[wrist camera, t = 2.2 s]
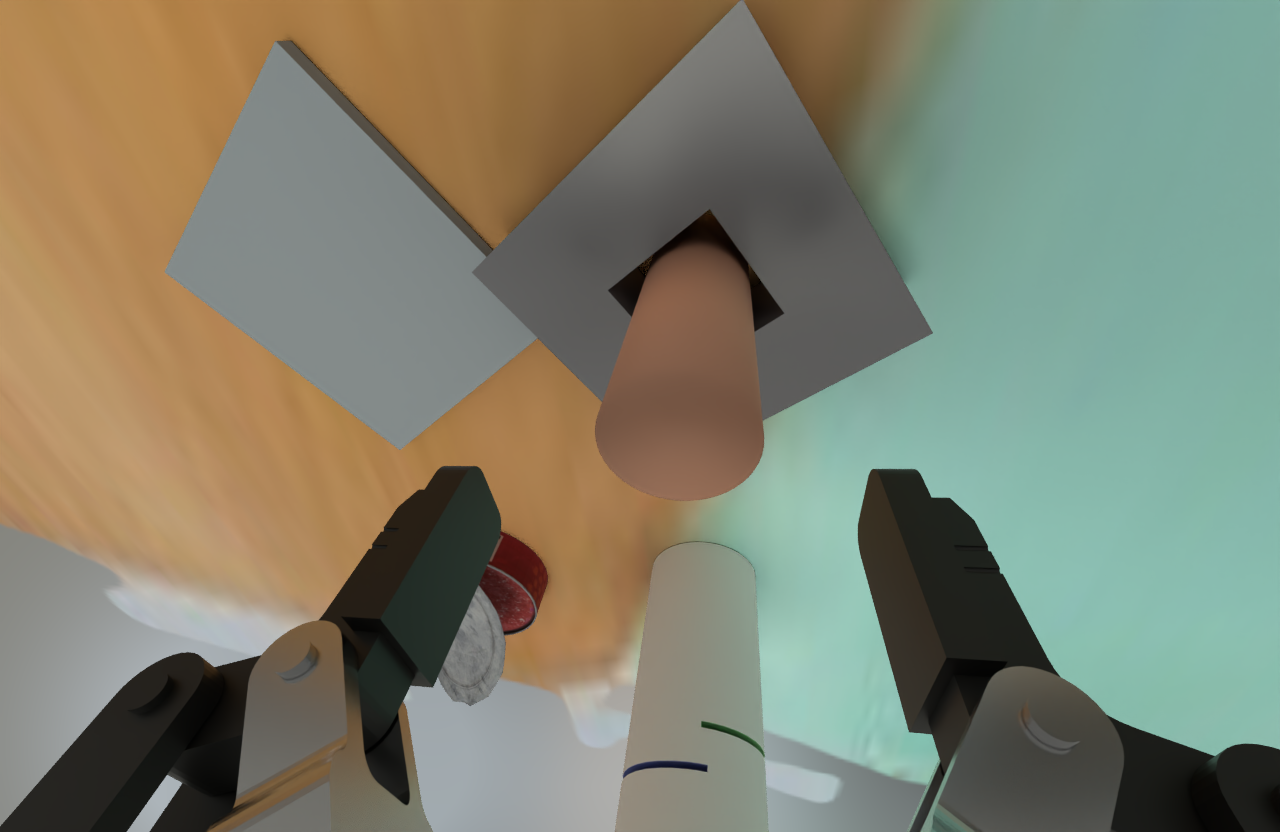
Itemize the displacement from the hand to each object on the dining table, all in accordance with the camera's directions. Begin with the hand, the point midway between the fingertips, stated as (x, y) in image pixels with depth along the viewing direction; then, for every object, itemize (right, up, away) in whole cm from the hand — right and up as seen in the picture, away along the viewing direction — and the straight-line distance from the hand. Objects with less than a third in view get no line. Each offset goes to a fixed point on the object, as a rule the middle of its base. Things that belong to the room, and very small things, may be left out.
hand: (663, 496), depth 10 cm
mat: (-14, +8, +14) cm, 21 cm away
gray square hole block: (+2, +8, +11) cm, 14 cm away
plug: (+2, +8, +11) cm, 14 cm away
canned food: (-12, -10, +28) cm, 32 cm away
